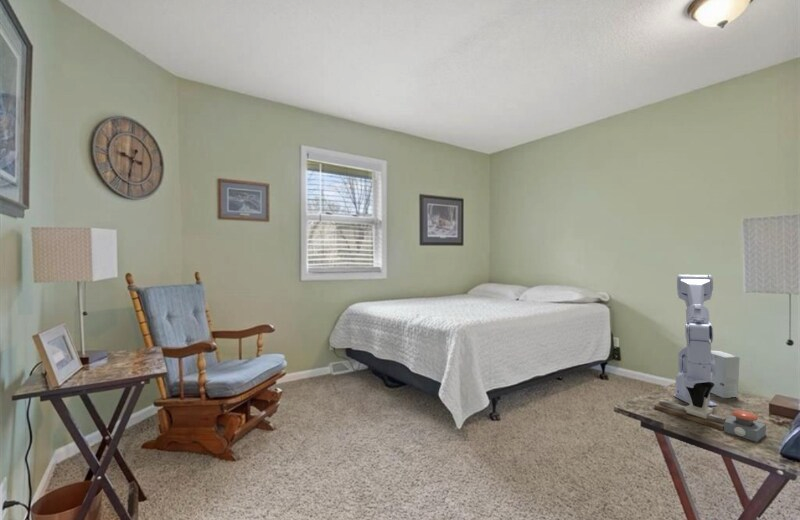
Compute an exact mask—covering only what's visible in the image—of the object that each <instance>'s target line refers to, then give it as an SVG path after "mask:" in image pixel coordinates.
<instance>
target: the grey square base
mask: <svg viewBox="0 0 800 520" xmlns="http://www.w3.org/2000/svg"><path fill="white" fill-rule="evenodd" d="M766 427H767V424H765V423H763V422H759V421H757V420H756V421H753V426H751V427H749V426H746V425H743V424H739V423H736V417H735V416H734V415H733V414H732V416H730V417H728V418H726V420H725V421H724V430H723V432H724V433H728V434H731V435H733V436H737V437H741V438H744V439H747V440H749V441H752V442H756V443H758V442H759V441H761V439H763V438H764V437H765V436H766V435H767V428H766Z"/></svg>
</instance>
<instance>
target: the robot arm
mask: <svg viewBox="0 0 800 520" xmlns="http://www.w3.org/2000/svg"><path fill="white" fill-rule="evenodd" d="M713 279H714V278H713V275H712V274H680V273H678V274H677V275H676V286H677V287H676V291H677V296H678V299H680V300H682V301H684V303H685V305H686V309H685V317H686V324H685V325H684V326H685V327H684V330H685V331H684V332H685V335H684V337H685V341H686V346H685V347H683V348H681V349H679V351H678V356H677V359H678V360H677V368H678V373H677V375H676V377H675V393H674V394H673V397H674V398H677V399H680V400H681V401H683V402H685V403H686V404H689V405H690V397H691V400H692V403H693V406H696V407H699V408H702V406H703V402H704V397H706V398H708V407H712V406H713V407H715V406H718V403H715V402H714V401H712V400H711V394H710V391H711V389H712V388H713V386H714V383H712V382H711V381H712V379H713V377H714V376H715V361H714V356H713V354H712V353H711V351H712V344H713V341H714V328H713V325H712V322H711V321H710V312H709V309H708V308H707V307H706V306H705V305H704V303H705V301H706V302H707V301H710V300H711V297H712V296H713V291H714V280H713Z"/></svg>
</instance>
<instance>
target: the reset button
mask: <svg viewBox="0 0 800 520" xmlns="http://www.w3.org/2000/svg"><path fill="white" fill-rule="evenodd" d="M733 415H734V416H735V417H736V423H739V424H743V425H746V426H749V427H751V426H753V421H756V422H757V421H758V415H757V414H755V413H752V412H750V411H746V410H739V409H735V410H732V416H733Z"/></svg>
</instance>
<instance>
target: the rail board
mask: <svg viewBox="0 0 800 520" xmlns="http://www.w3.org/2000/svg"><path fill="white" fill-rule="evenodd" d="M653 407H654V409H655V410H658V411H661V412H664V413H667V414H670V415H673V416H676V417H680V418H683V419H685V420H689V421H692V422H695V423H699V424H700V425H701V424H702V425H704V426H708V427H711V428H715V429H716V430H717V429H718V430H720V431H724V421H725V420H727V418H726V417H724V416H720V415H717V414H713V413H712V414H710V413H708V414H707V419H705V418H702V417H699V416H696V415H692V414H689V413H687V410H685V407H686V405H682V404H678V403H675V402H672V401H669V400H668V401H667V400H665V399H659V401H658V402H657V403H655V404H654V406H653Z"/></svg>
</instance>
